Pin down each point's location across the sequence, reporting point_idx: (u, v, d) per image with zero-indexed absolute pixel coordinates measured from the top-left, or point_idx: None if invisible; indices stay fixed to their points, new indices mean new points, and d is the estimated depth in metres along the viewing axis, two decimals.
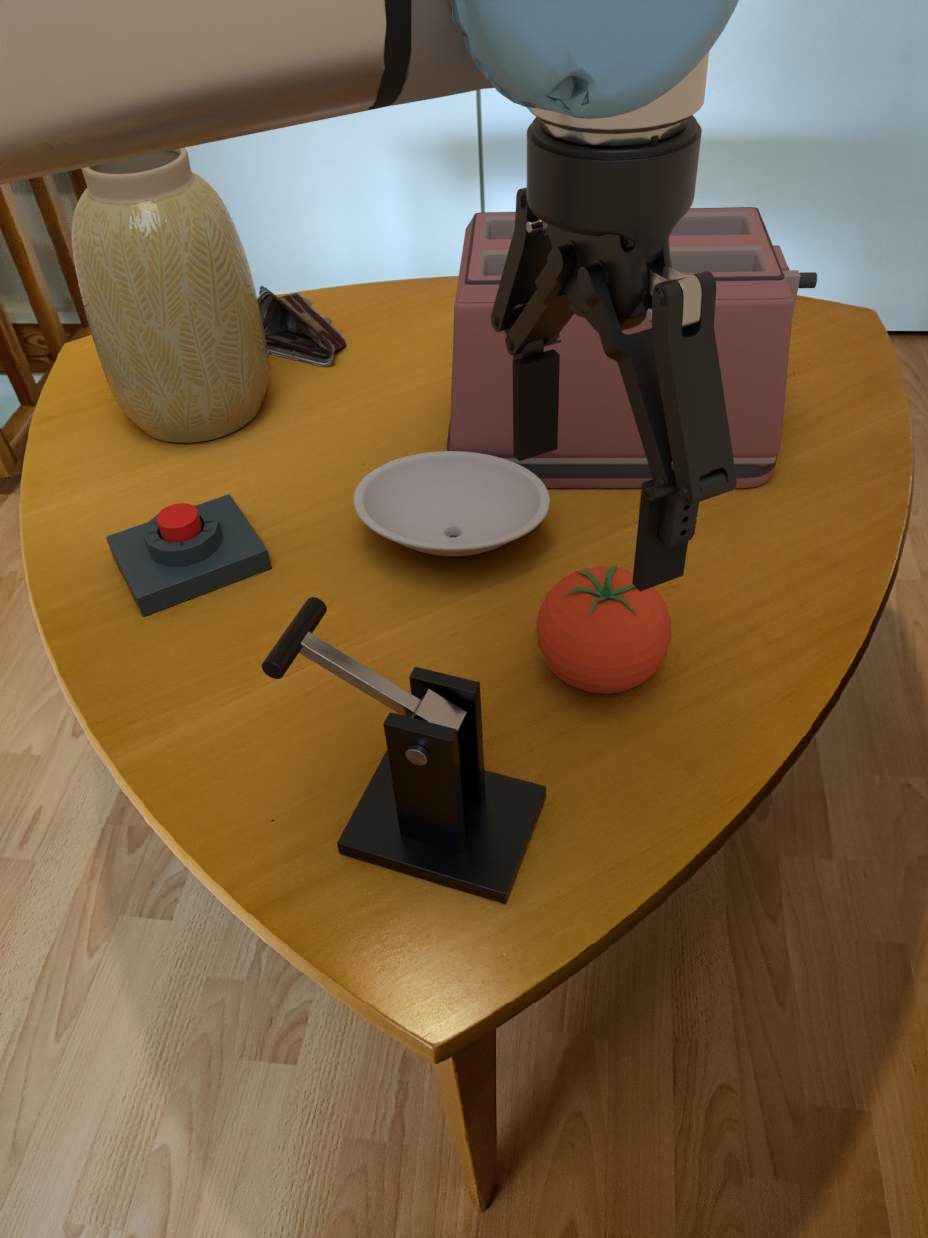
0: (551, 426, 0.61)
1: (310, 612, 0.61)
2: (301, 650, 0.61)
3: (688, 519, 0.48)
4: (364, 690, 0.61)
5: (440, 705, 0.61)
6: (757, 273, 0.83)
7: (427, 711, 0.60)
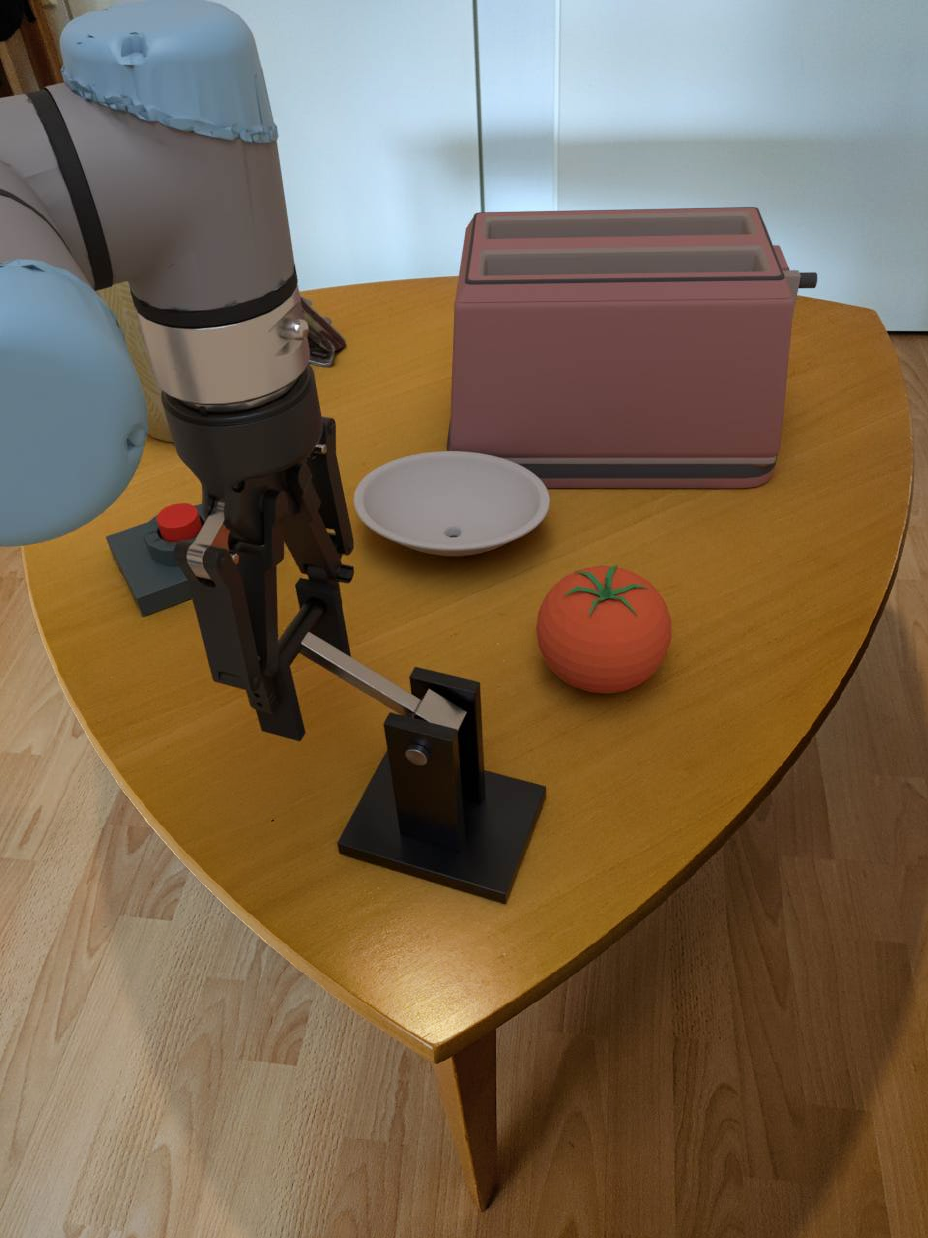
0: (336, 645, 0.65)
1: (310, 612, 0.61)
2: (301, 650, 0.61)
3: (260, 696, 0.58)
4: (364, 690, 0.61)
5: (440, 705, 0.61)
6: (757, 273, 0.83)
7: (427, 711, 0.60)
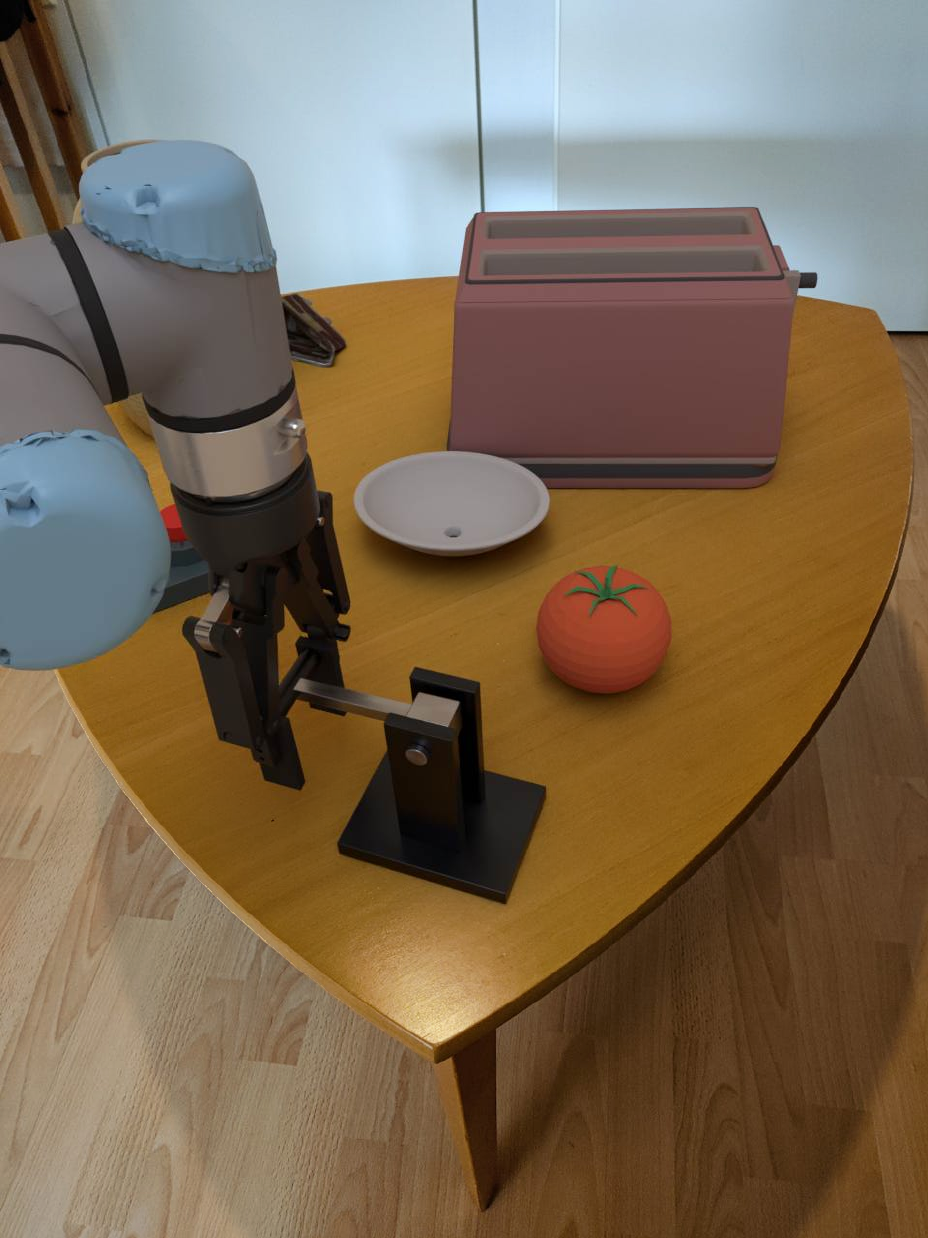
0: None
1: (300, 661, 0.65)
2: (297, 696, 0.64)
3: (263, 752, 0.62)
4: (362, 713, 0.63)
5: (431, 703, 0.61)
6: (757, 273, 0.83)
7: (417, 711, 0.61)
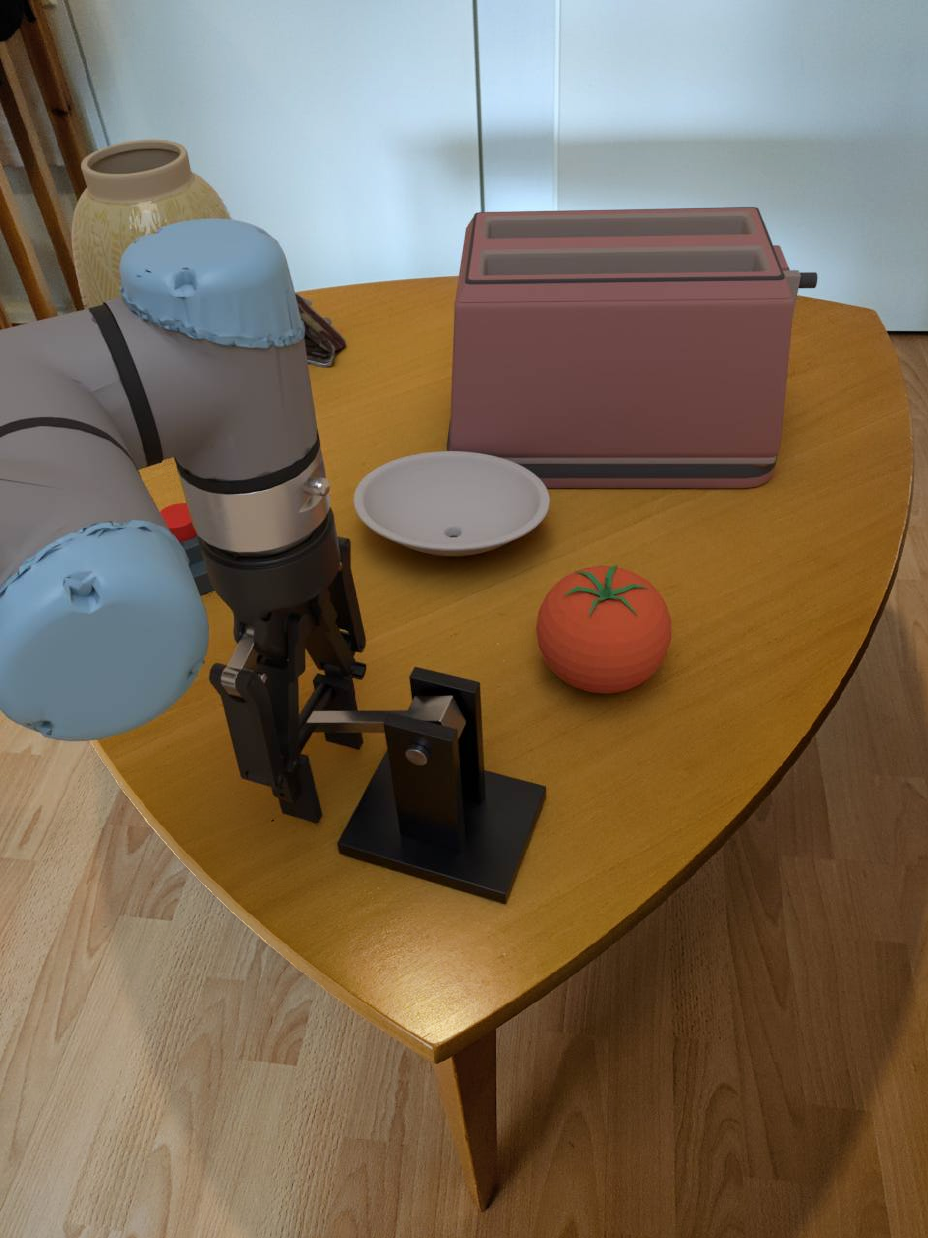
0: None
1: (313, 696, 0.67)
2: (312, 728, 0.66)
3: (282, 788, 0.64)
4: (370, 730, 0.64)
5: (425, 703, 0.61)
6: (757, 273, 0.83)
7: (412, 713, 0.61)
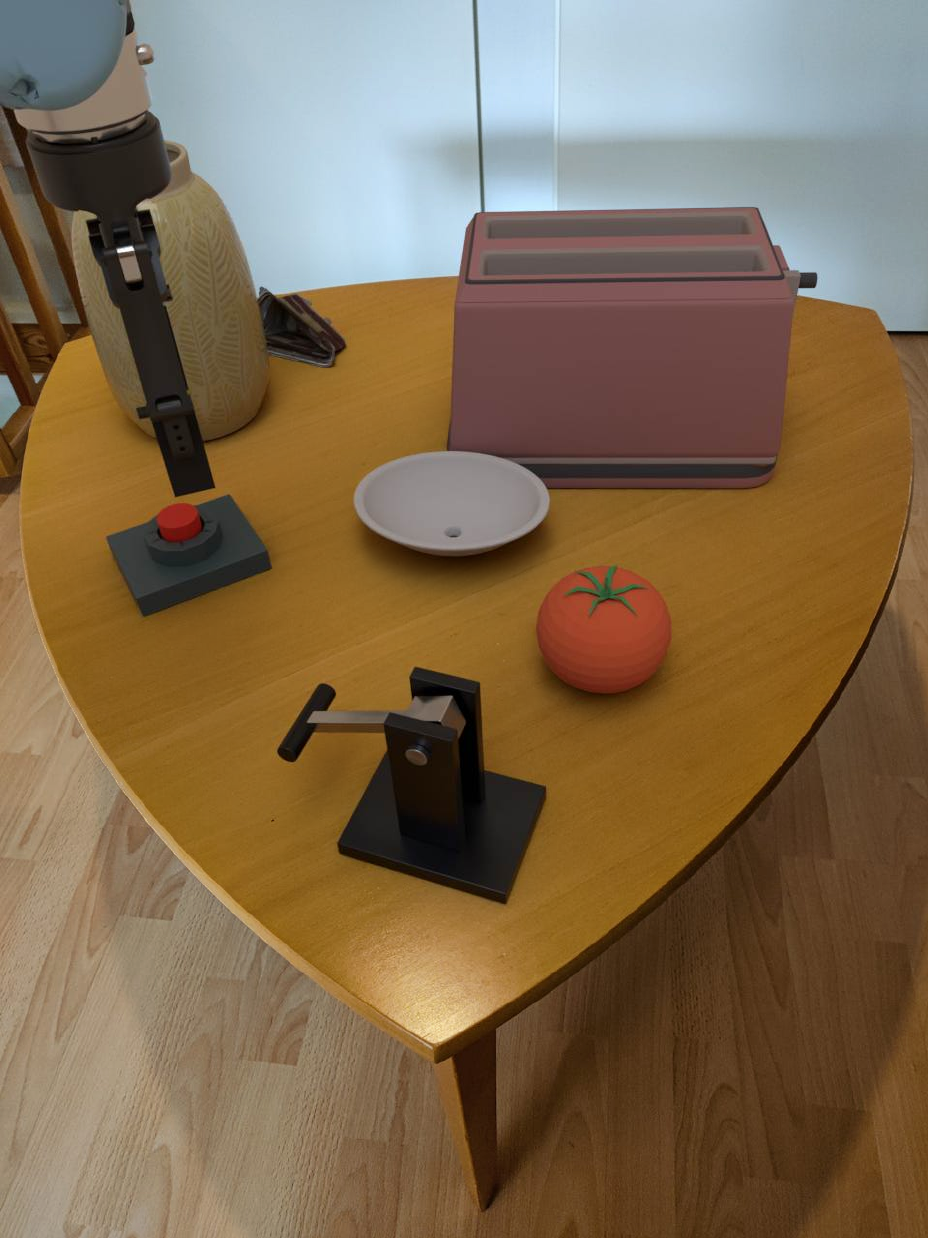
0: None
1: (313, 696, 0.67)
2: (312, 728, 0.66)
3: (182, 437, 0.62)
4: (370, 730, 0.64)
5: (425, 703, 0.61)
6: (757, 273, 0.83)
7: (412, 714, 0.61)
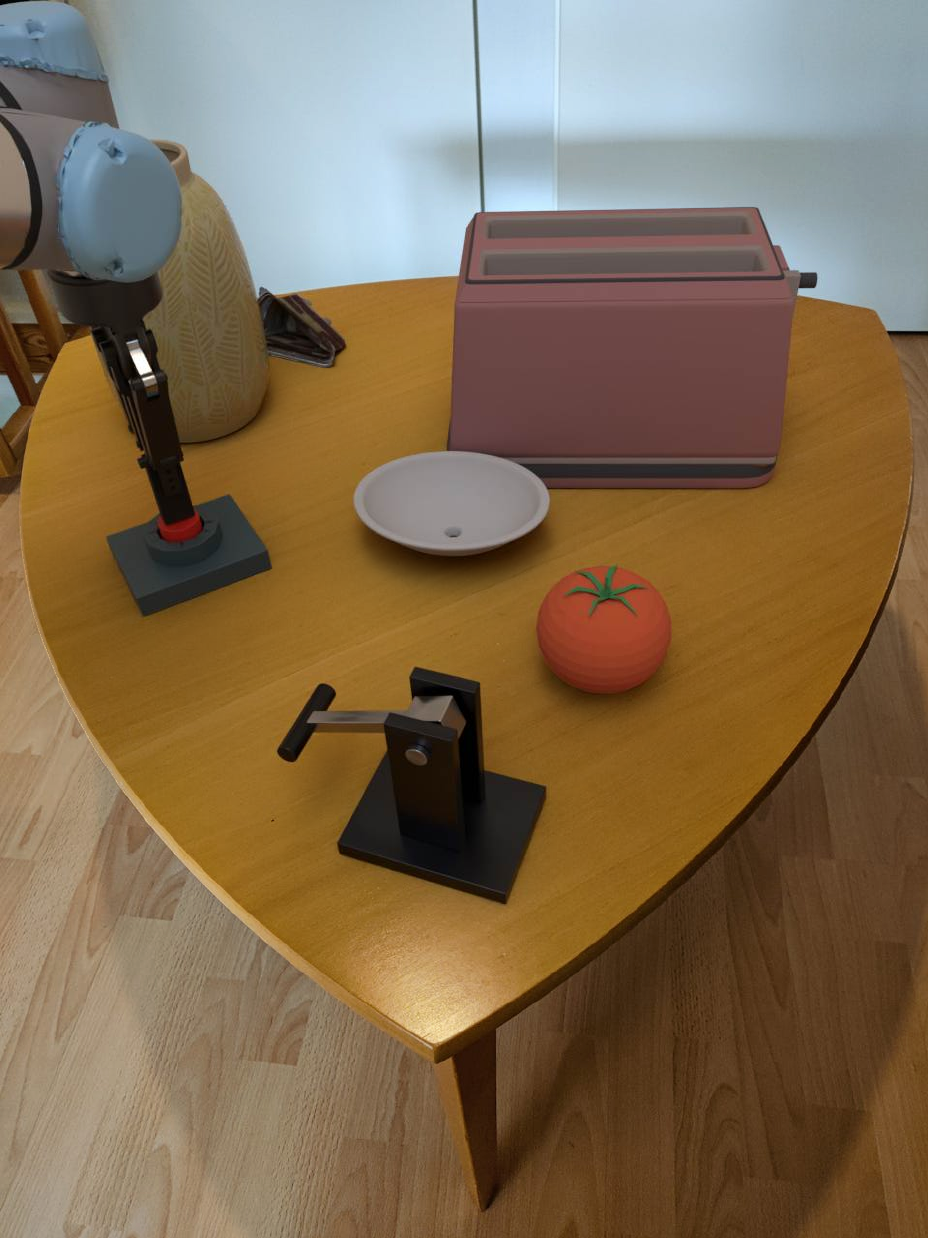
0: None
1: (313, 696, 0.67)
2: (312, 728, 0.66)
3: (173, 479, 0.83)
4: (370, 730, 0.64)
5: (425, 703, 0.61)
6: (757, 273, 0.83)
7: (412, 714, 0.61)
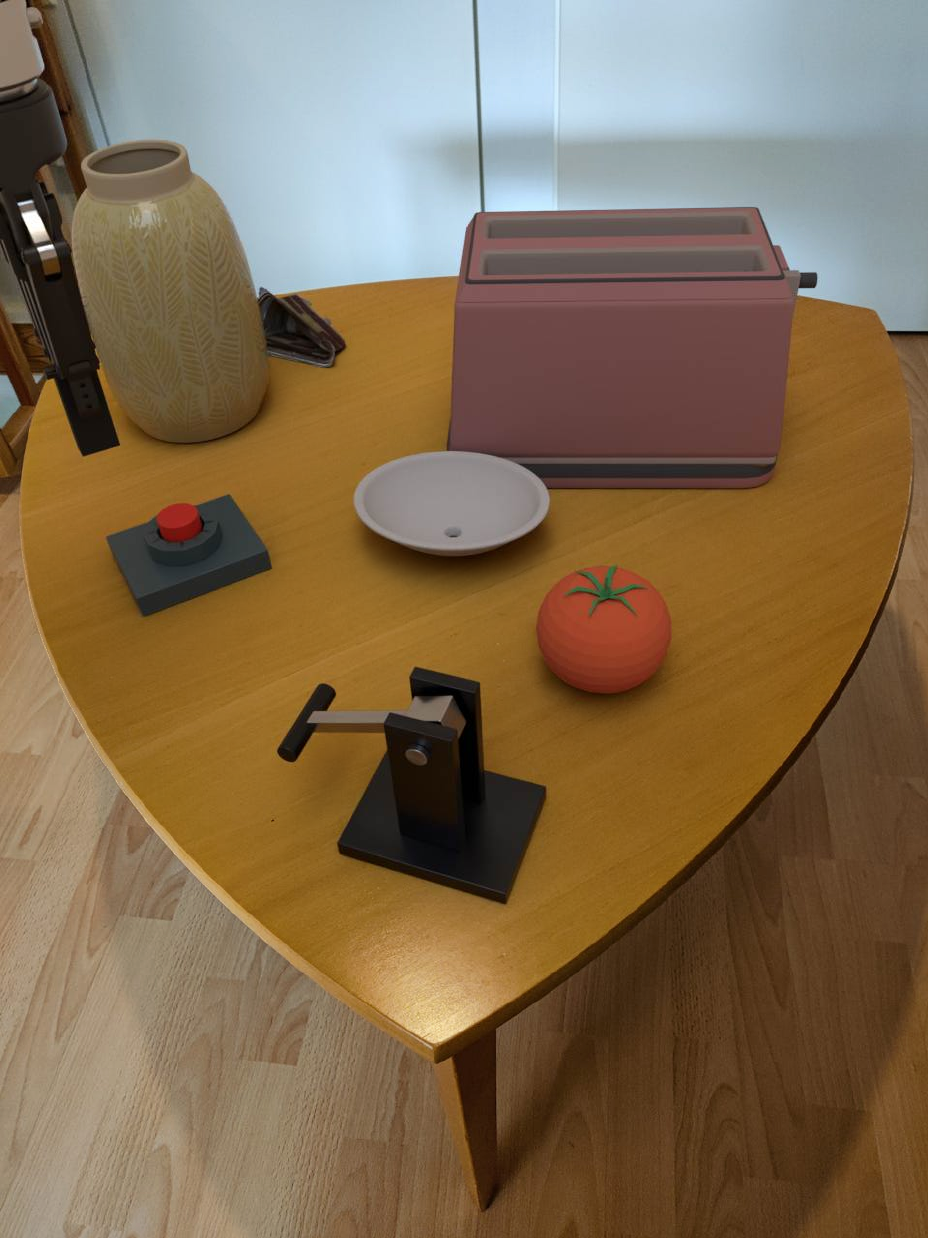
0: None
1: (313, 696, 0.67)
2: (312, 728, 0.66)
3: (88, 395, 0.67)
4: (370, 730, 0.64)
5: (425, 703, 0.61)
6: (757, 273, 0.83)
7: (412, 714, 0.61)
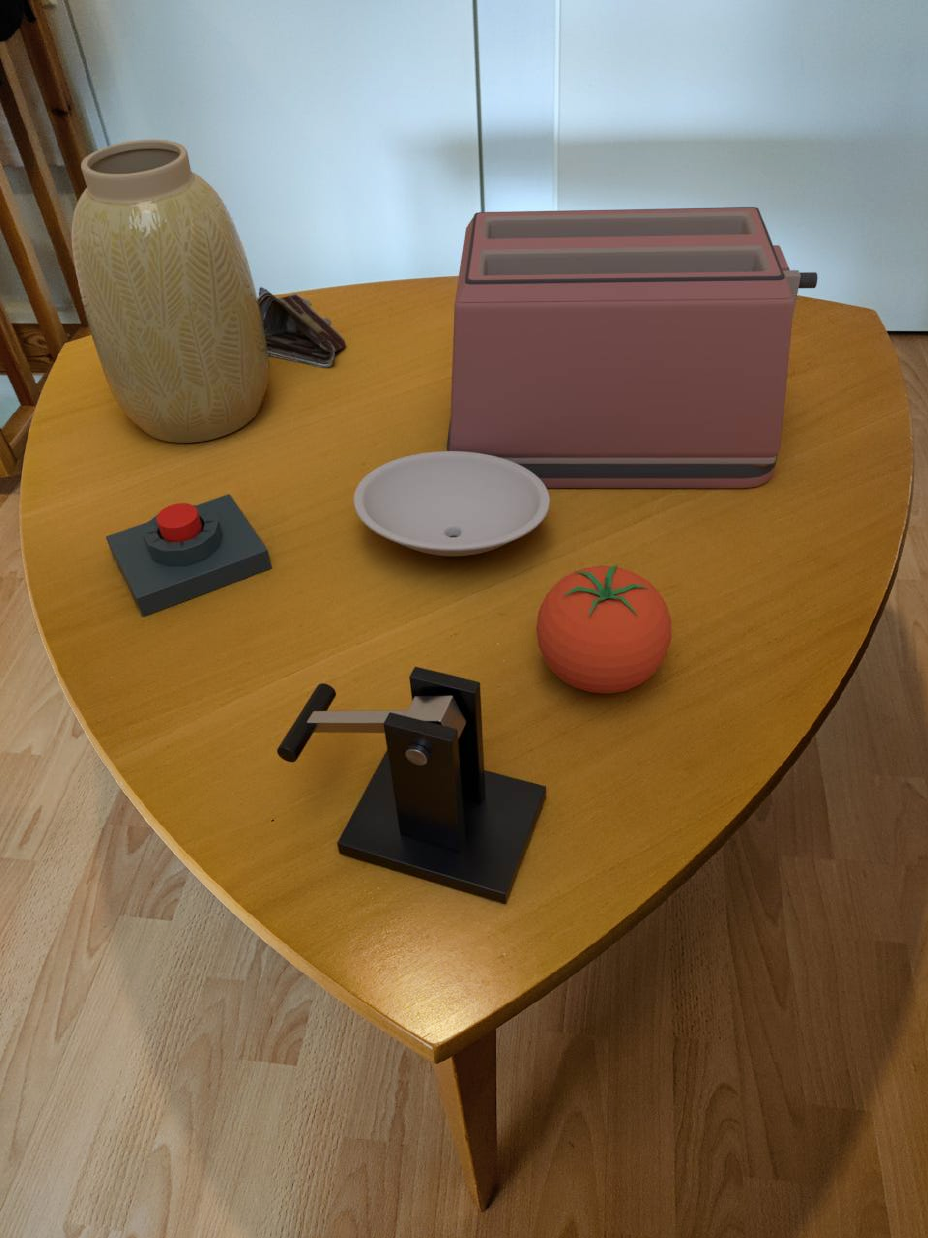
0: None
1: (313, 696, 0.67)
2: (312, 728, 0.66)
3: None
4: (370, 730, 0.64)
5: (425, 703, 0.61)
6: (757, 273, 0.83)
7: (412, 714, 0.61)
